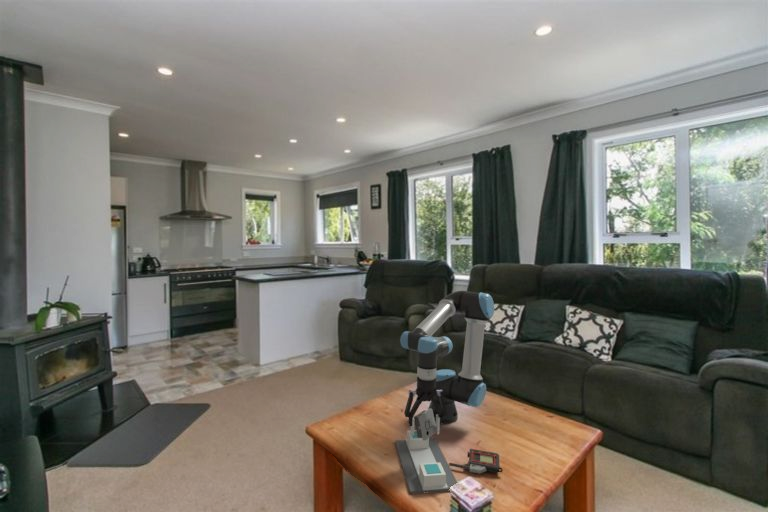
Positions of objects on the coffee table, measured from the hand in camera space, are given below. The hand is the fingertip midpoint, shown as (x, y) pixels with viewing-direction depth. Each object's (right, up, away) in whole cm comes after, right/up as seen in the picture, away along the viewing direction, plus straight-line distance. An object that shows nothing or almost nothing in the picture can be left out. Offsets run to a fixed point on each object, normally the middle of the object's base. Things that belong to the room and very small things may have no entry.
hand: (424, 432), depth 140 cm
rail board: (0, -13, +1) cm, 13 cm away
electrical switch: (0, -1, 0) cm, 1 cm away
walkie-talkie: (+20, -9, -2) cm, 22 cm away
